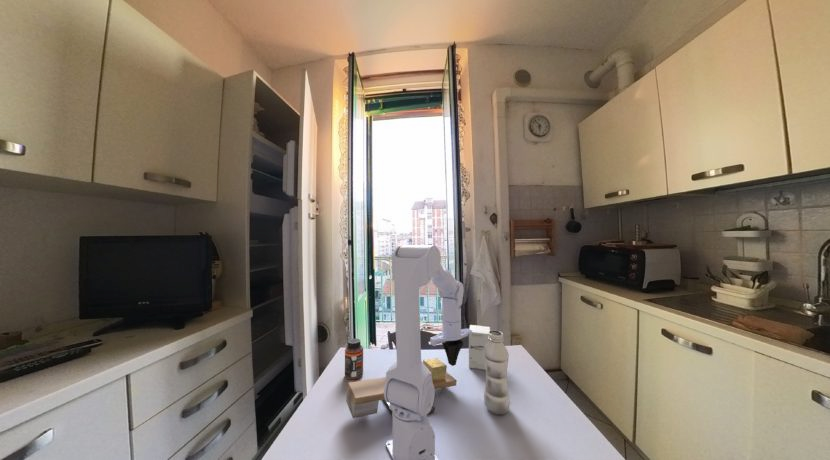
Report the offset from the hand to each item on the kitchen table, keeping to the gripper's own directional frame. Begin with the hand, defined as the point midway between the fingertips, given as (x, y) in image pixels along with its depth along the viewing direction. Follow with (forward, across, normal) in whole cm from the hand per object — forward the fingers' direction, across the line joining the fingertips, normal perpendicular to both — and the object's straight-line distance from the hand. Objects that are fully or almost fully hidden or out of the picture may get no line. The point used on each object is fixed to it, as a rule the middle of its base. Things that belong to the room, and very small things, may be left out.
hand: (452, 363), depth 75 cm
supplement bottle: (+7, +25, -20) cm, 33 cm away
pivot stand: (+6, +16, 0) cm, 17 cm away
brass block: (+2, +7, 0) cm, 7 cm away
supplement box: (+7, -16, -5) cm, 18 cm away
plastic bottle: (+7, -4, +14) cm, 16 cm away
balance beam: (+5, +17, 0) cm, 17 cm away
